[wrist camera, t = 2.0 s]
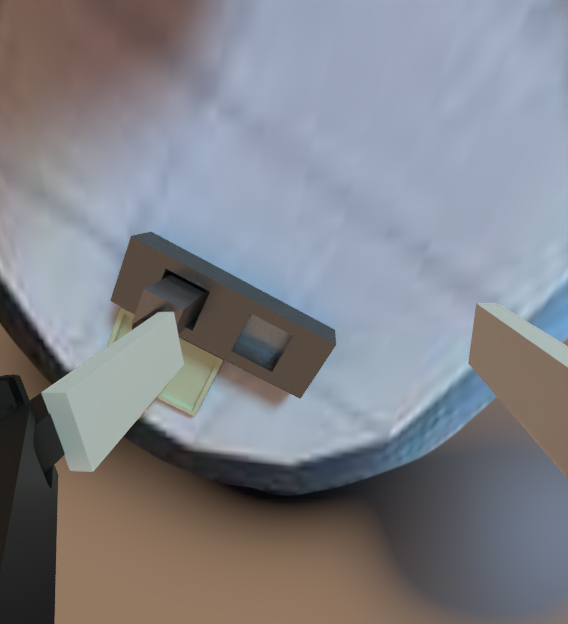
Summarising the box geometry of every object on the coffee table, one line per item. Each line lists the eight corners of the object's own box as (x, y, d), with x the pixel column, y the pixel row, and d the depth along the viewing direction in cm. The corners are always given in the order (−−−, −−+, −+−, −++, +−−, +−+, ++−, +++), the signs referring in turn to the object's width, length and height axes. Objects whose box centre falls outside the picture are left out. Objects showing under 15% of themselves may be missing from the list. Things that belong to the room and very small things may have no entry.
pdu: (130, 290, 39) (53, 328, 28) (150, 231, 37) (74, 248, 25) (302, 380, 41) (294, 450, 30) (334, 330, 38) (338, 386, 27)
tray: (105, 364, 44) (99, 369, 43) (126, 304, 40) (120, 307, 39) (197, 411, 44) (194, 416, 43) (226, 355, 41) (223, 360, 40)
